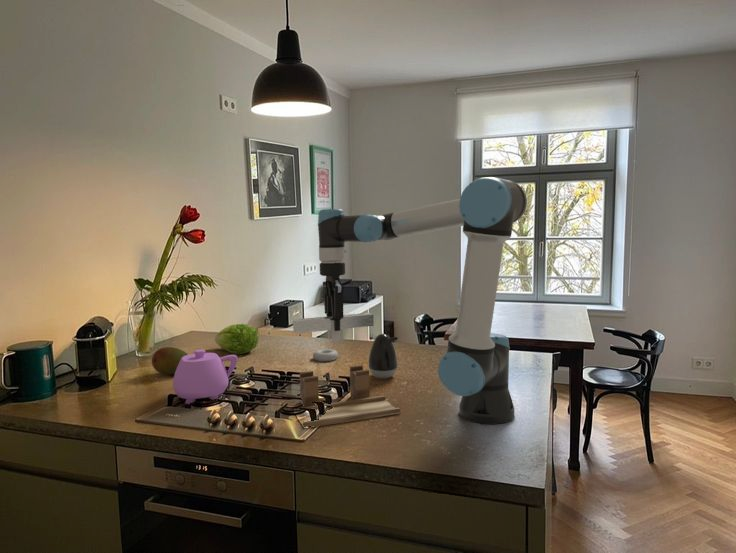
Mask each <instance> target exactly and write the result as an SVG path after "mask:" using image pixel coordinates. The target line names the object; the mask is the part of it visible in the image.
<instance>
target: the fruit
mask: <svg viewBox="0 0 736 553" xmlns="http://www.w3.org/2000/svg"><path fill="white" fill-rule="evenodd" d="M186 355H189V354H188V353H187V352H186V351H184V350H183V349H180V348H177V347H174V346H172V347H171V346H167V347H165V346H164V347H161V348H159V349H156V351H155V352H154V353H153V355H152V358H151V365H152V367H153V369H154V370H155V372H157V373H160V374H162V375H175V372H176V369H177V367H178V364H179V362H180V360H181V358H182V357H183V356H186Z"/></svg>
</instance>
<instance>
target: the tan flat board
mask: <svg viewBox="0 0 736 553" xmlns="http://www.w3.org/2000/svg"><path fill="white" fill-rule="evenodd" d="M330 403H331V404H328V403H325V404H326V405H325V406H332V407H334V408H332V409H330V410H327V411H326V413H325V414H324V415H322V416H321V417H319V420H314V421H307V422H303V426H304V427H306V426H316V427H323V426H328V425H329V426H330V425H334V424H341V423H348V422H353V421H354V422H355V421H361V420H366V419H373V418H379V417H384V416H385V417H387V416H392V415H399V414H401V408H400V407H395V406H394V405H392V403H390V402H389V401H388V400H386V396H385V395H378V396H373V397H372V396H371V397H370V398H363V399H356V400H355V399H350V400H344V401H336V402H330ZM301 408H314V409H316V410H317V409H318V407H317V405H314V406H307V407H304V406H303V407H302V406H301Z"/></svg>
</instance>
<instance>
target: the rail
mask: <svg viewBox="0 0 736 553" xmlns="http://www.w3.org/2000/svg"><path fill="white" fill-rule="evenodd" d="M330 318H332V316H327V315H326V316H316V317H305V318H294V319H292V329H293V332H294V333H295V334H303V333H306V334H307V333H312V332H313V333H314V332H324V331H328V330H332V326H331V320H330ZM374 324H375V323H374V314H373V313H371V312H362V313H352V314H343V318H341V330H346V329H355V328H365V327H374Z"/></svg>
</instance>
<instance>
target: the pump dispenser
mask: <svg viewBox="0 0 736 553" xmlns="http://www.w3.org/2000/svg"><path fill="white" fill-rule="evenodd" d="M397 340H399V338H398V336H393V337H390V336H389V335H388V334H385V333H380V334H378V335H377V336H375V338H374V340H373V343H372V345H371V348H370V351H369V357H368V369H369V373H371V375H372V376H374V378H376V379H383V380H384V379H390V378H391V377H393V376H394V375H395V374H396V372H397V369H398V367H399V366H398V364H399V363H398V356H397V351H396V349H395V346H394V343H393V342H395V341H397Z"/></svg>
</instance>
